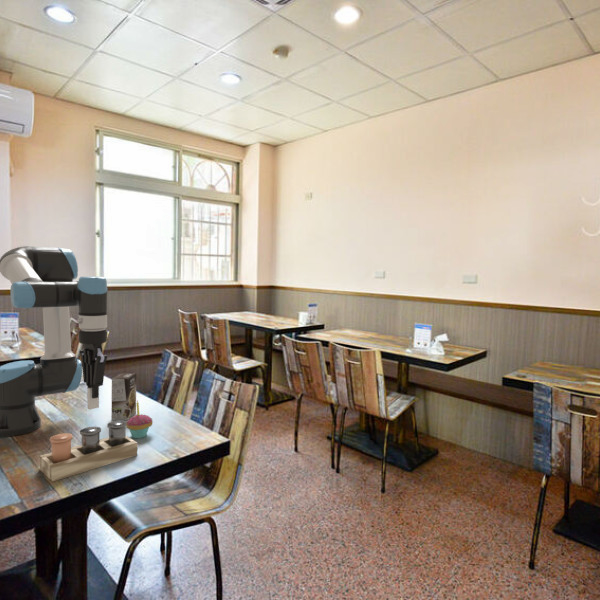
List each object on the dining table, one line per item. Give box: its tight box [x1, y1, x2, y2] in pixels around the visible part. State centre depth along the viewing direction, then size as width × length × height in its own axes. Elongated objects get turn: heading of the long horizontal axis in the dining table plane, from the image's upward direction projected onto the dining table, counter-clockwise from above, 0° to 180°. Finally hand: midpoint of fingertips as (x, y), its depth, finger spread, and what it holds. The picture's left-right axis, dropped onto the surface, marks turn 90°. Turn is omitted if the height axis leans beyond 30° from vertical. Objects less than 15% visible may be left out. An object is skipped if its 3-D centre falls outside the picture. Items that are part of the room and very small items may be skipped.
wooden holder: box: [39, 435, 138, 483], centre depth 127 cm, size 10×24×4 cm, turn 138°
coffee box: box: [111, 372, 137, 421], centre depth 166 cm, size 9×6×16 cm
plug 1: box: [79, 426, 102, 455], centre depth 127 cm, size 6×6×7 cm
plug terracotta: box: [49, 432, 74, 463], centre depth 121 cm, size 6×6×7 cm
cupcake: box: [126, 399, 154, 439], centre depth 148 cm, size 9×8×12 cm
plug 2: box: [106, 420, 127, 447], centre depth 133 cm, size 6×6×7 cm
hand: (93, 407), depth 127 cm, fingers closed
